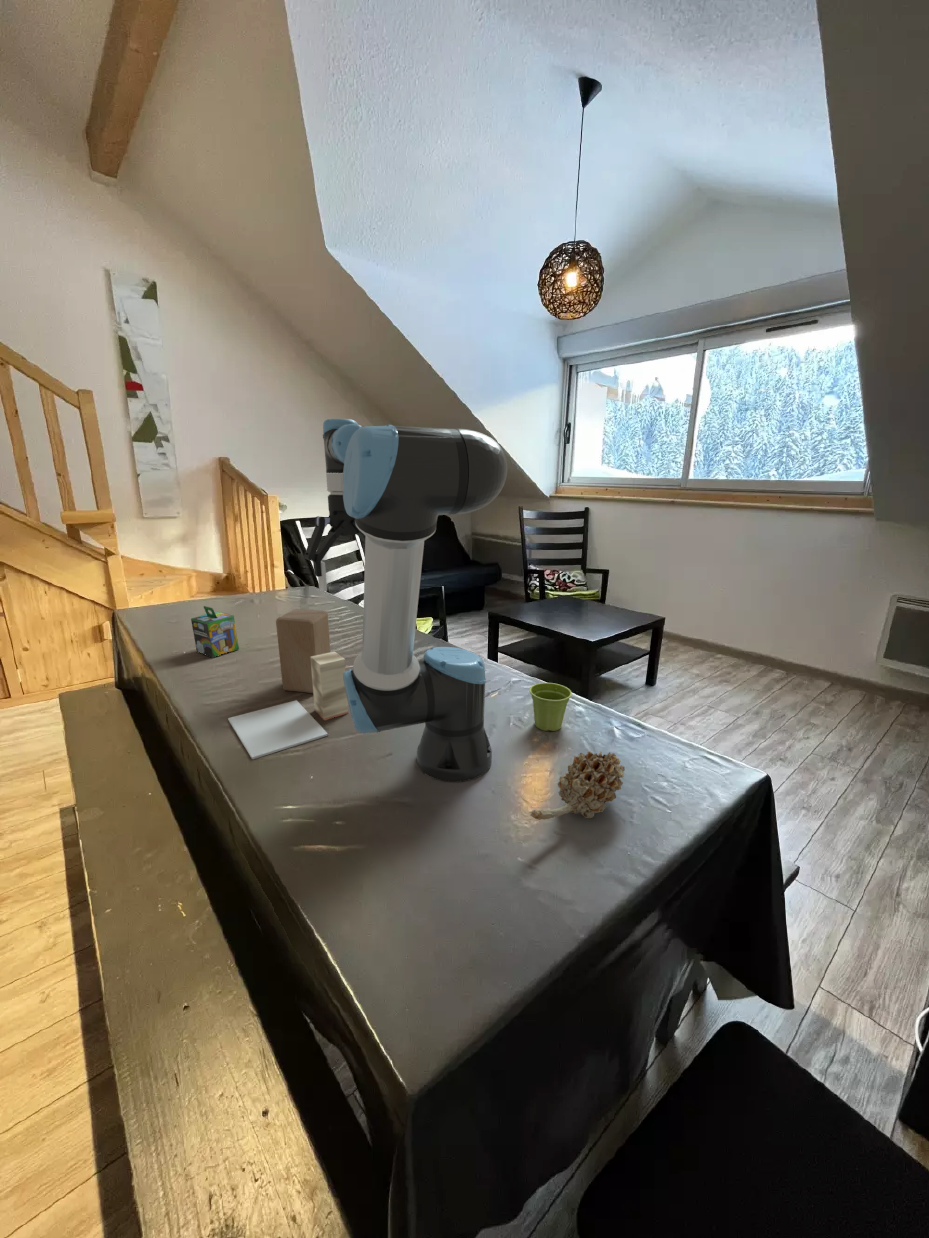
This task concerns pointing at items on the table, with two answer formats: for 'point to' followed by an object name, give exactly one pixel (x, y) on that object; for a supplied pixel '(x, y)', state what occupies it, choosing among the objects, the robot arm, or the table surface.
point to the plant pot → (549, 705)
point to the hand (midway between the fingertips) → (350, 586)
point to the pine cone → (587, 785)
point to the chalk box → (214, 633)
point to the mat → (276, 728)
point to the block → (301, 646)
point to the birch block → (329, 685)
